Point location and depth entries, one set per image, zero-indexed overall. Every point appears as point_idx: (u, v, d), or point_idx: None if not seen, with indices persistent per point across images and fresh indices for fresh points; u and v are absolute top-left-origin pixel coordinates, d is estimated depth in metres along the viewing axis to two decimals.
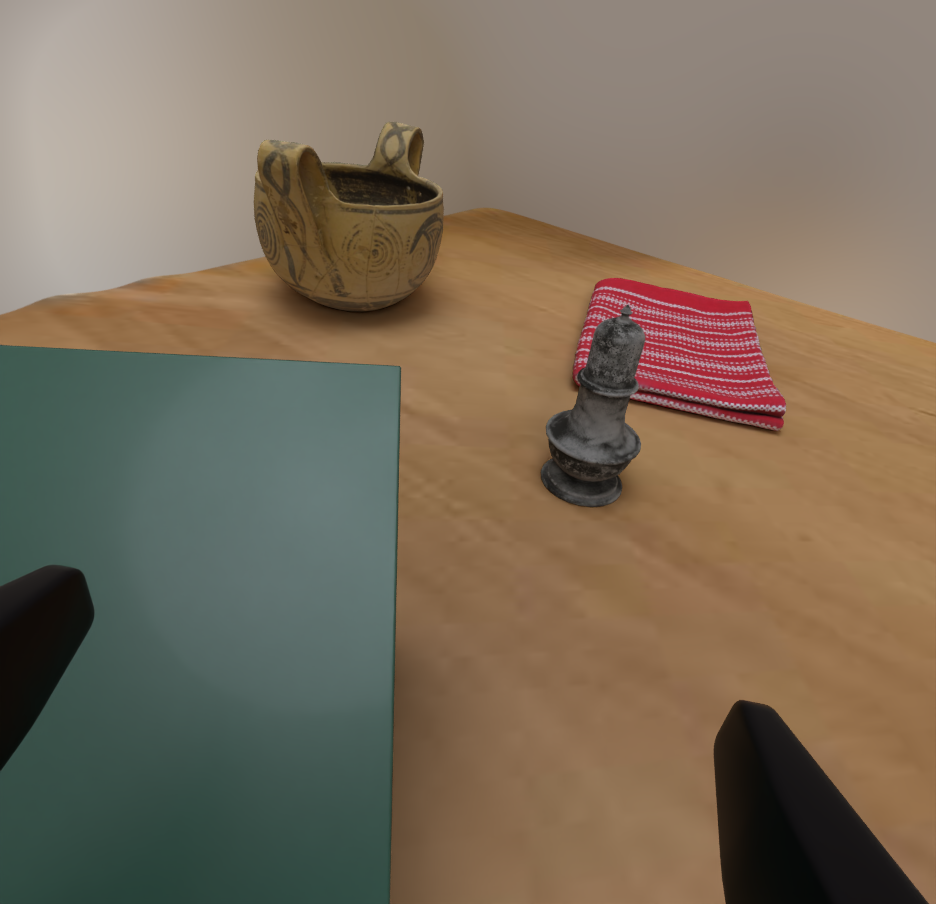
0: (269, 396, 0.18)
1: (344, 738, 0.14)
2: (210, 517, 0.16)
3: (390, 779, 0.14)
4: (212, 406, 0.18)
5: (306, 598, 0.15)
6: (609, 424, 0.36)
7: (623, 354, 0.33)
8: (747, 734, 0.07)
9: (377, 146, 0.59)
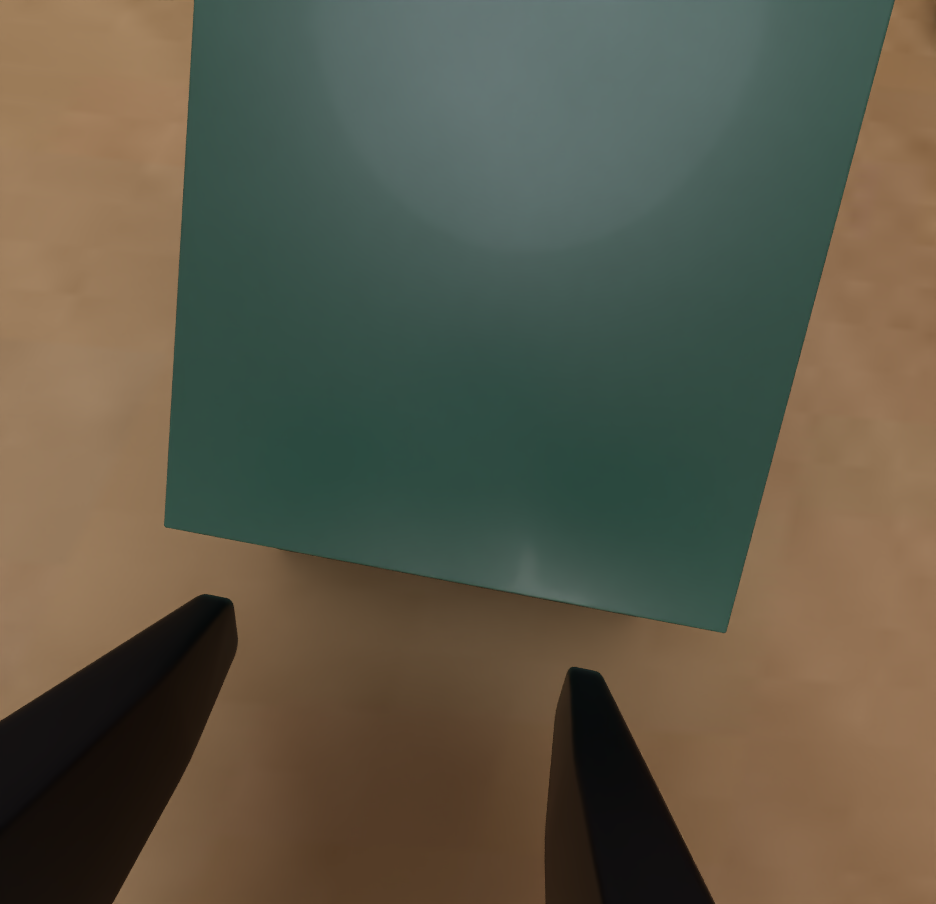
0: None
1: (729, 401, 0.12)
2: (594, 83, 0.11)
3: (772, 451, 0.12)
4: None
5: (710, 224, 0.12)
6: None
7: None
8: (569, 698, 0.07)
9: None
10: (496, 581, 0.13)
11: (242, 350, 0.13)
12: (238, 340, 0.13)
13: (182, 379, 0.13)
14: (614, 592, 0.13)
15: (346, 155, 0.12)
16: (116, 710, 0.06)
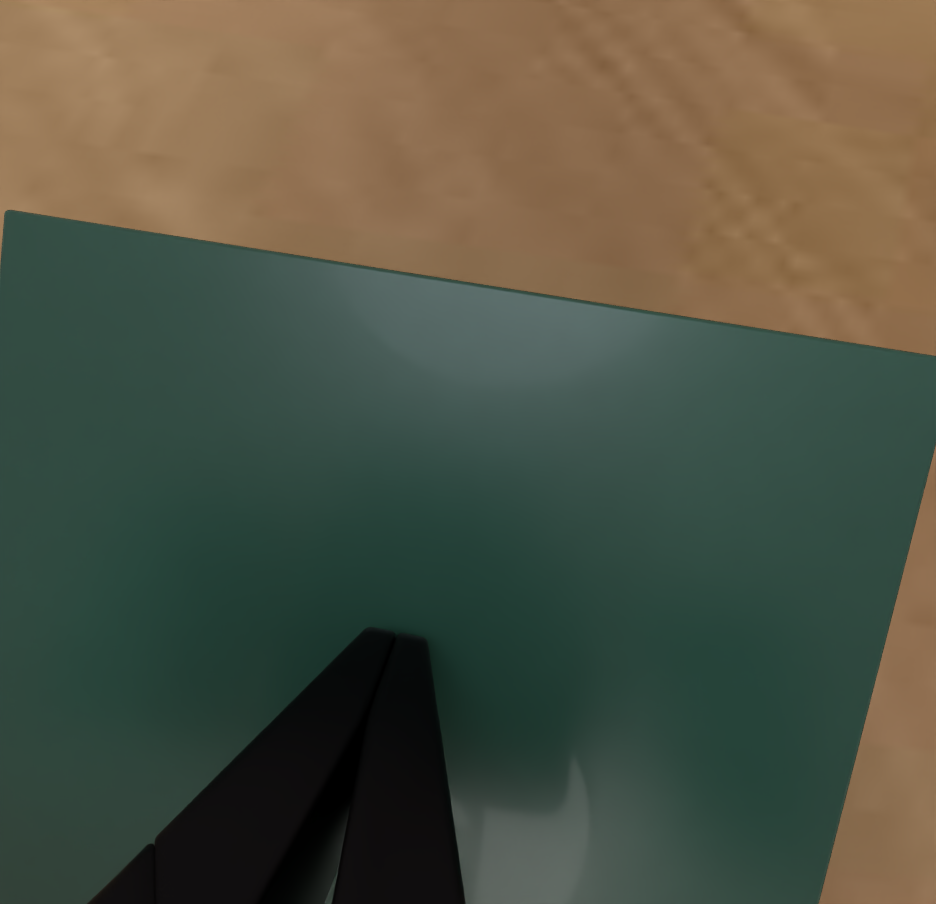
0: (628, 418, 0.08)
1: None
2: (498, 681, 0.08)
3: None
4: (506, 431, 0.08)
5: (658, 862, 0.09)
6: None
7: None
8: None
9: None
10: None
11: None
12: None
13: None
14: None
15: (173, 738, 0.09)
16: (331, 756, 0.06)
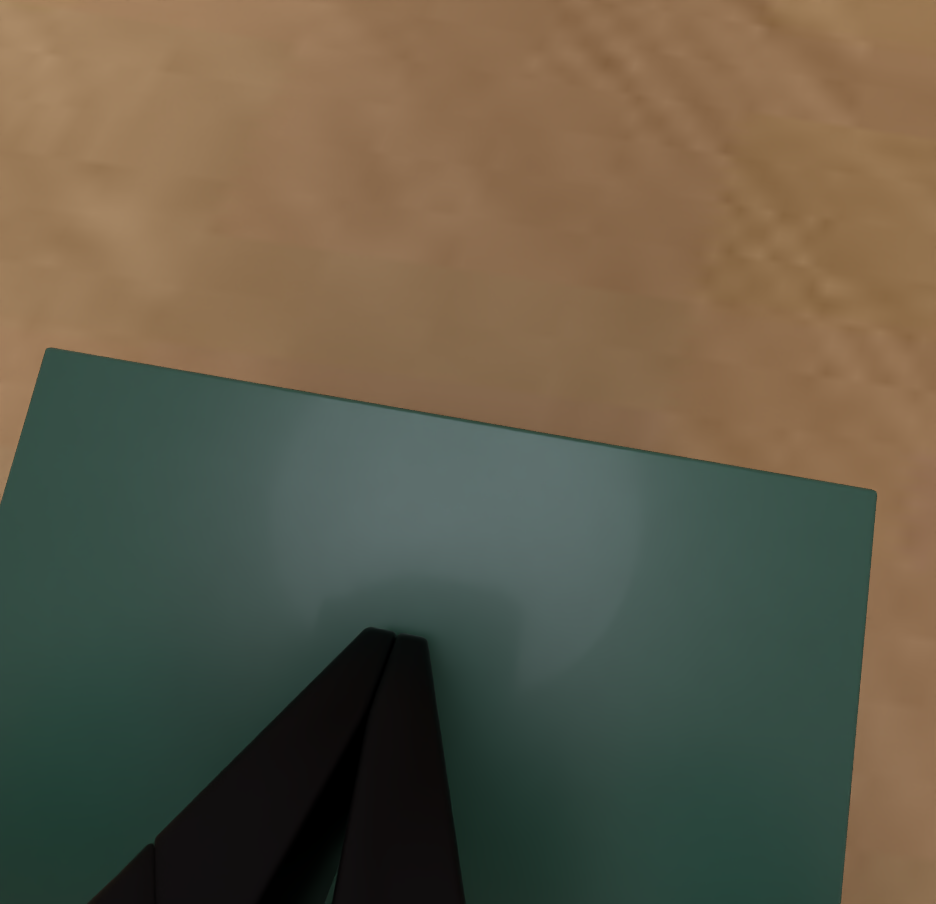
0: (597, 538, 0.09)
1: None
2: (476, 808, 0.08)
3: None
4: (486, 549, 0.09)
5: None
6: None
7: None
8: None
9: None
10: None
11: None
12: None
13: None
14: None
15: None
16: (331, 756, 0.06)
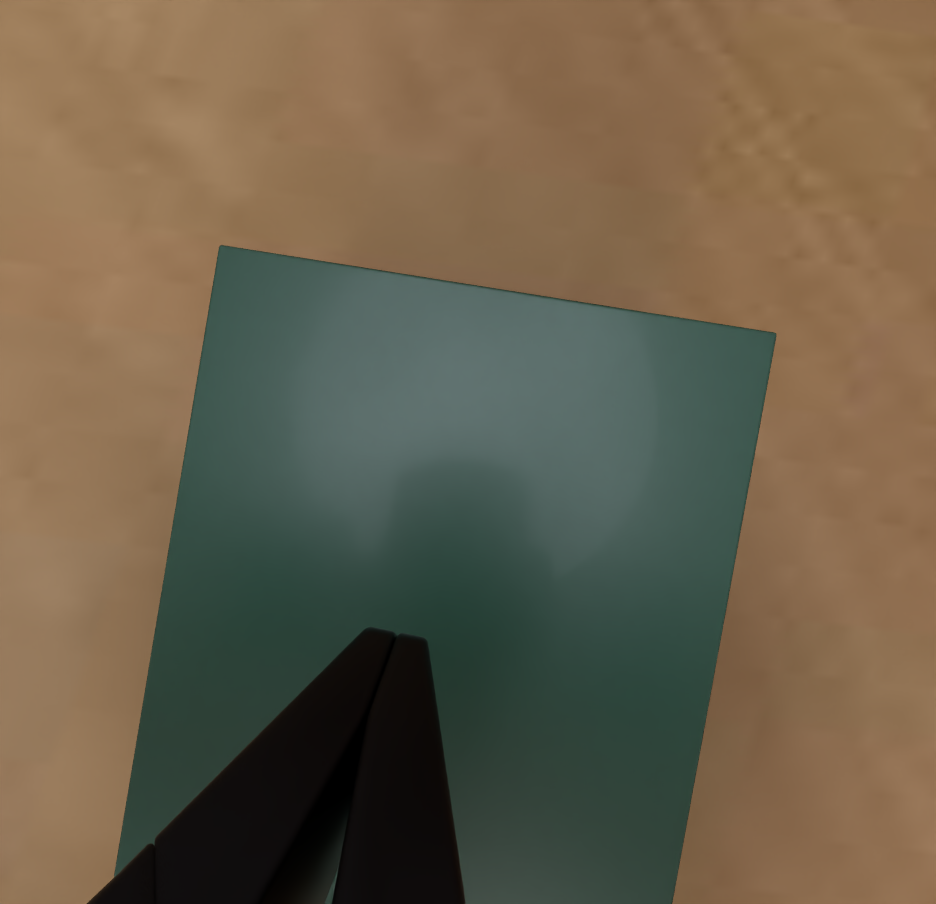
0: (590, 367, 0.14)
1: (639, 798, 0.14)
2: (513, 530, 0.14)
3: (681, 846, 0.13)
4: (519, 375, 0.14)
5: (614, 647, 0.14)
6: None
7: None
8: None
9: None
10: None
11: (201, 733, 0.14)
12: (198, 724, 0.14)
13: (143, 757, 0.14)
14: None
15: (305, 573, 0.14)
16: (332, 756, 0.06)
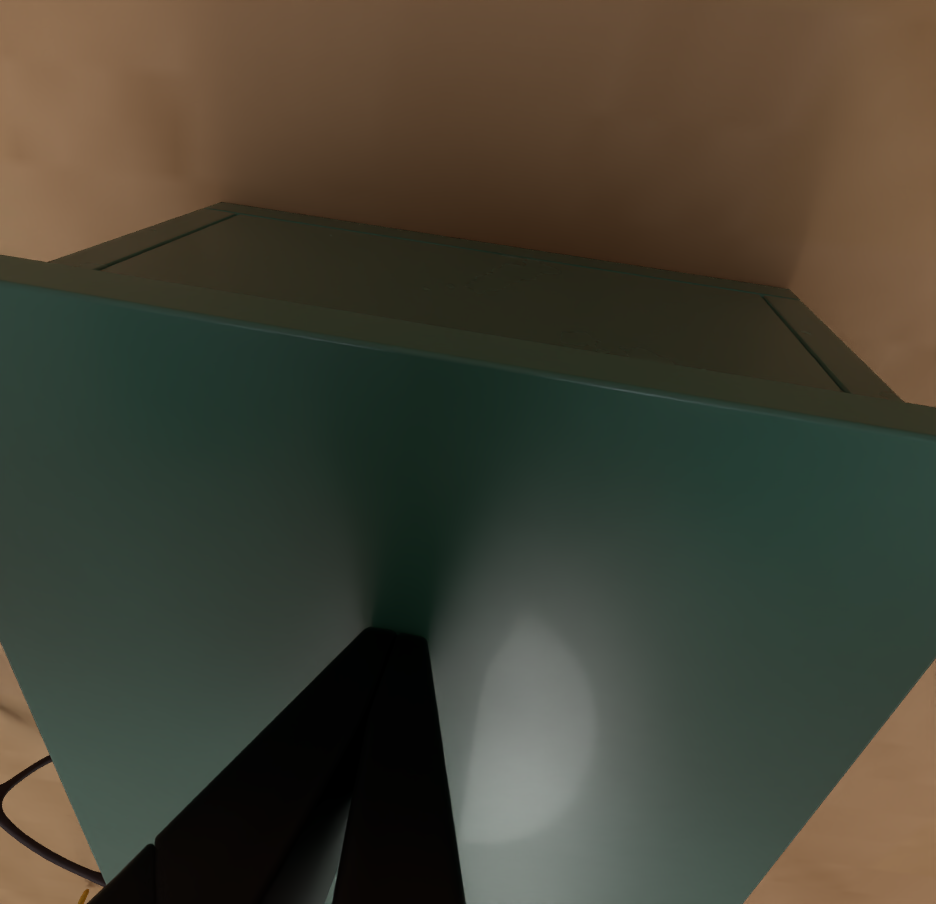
0: (635, 510, 0.07)
1: None
2: (492, 710, 0.09)
3: None
4: (490, 515, 0.07)
5: (637, 826, 0.10)
6: None
7: None
8: None
9: None
10: None
11: (144, 829, 0.12)
12: (138, 822, 0.12)
13: (93, 836, 0.13)
14: None
15: (205, 723, 0.10)
16: (332, 756, 0.06)
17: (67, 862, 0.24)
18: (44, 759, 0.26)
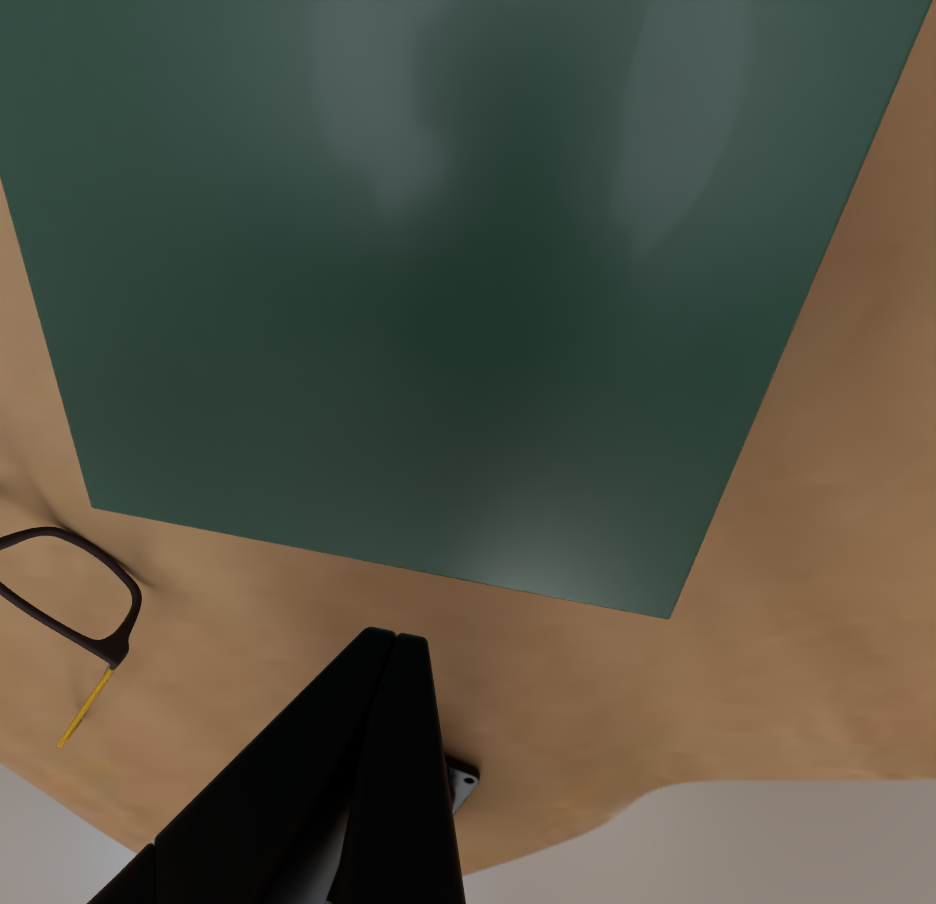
0: None
1: (689, 404, 0.10)
2: None
3: (735, 458, 0.10)
4: None
5: (678, 186, 0.08)
6: None
7: None
8: None
9: None
10: (431, 567, 0.13)
11: (119, 338, 0.11)
12: (111, 327, 0.11)
13: (63, 368, 0.12)
14: (554, 581, 0.13)
15: (181, 90, 0.09)
16: (331, 756, 0.06)
17: (53, 621, 0.23)
18: (29, 530, 0.25)
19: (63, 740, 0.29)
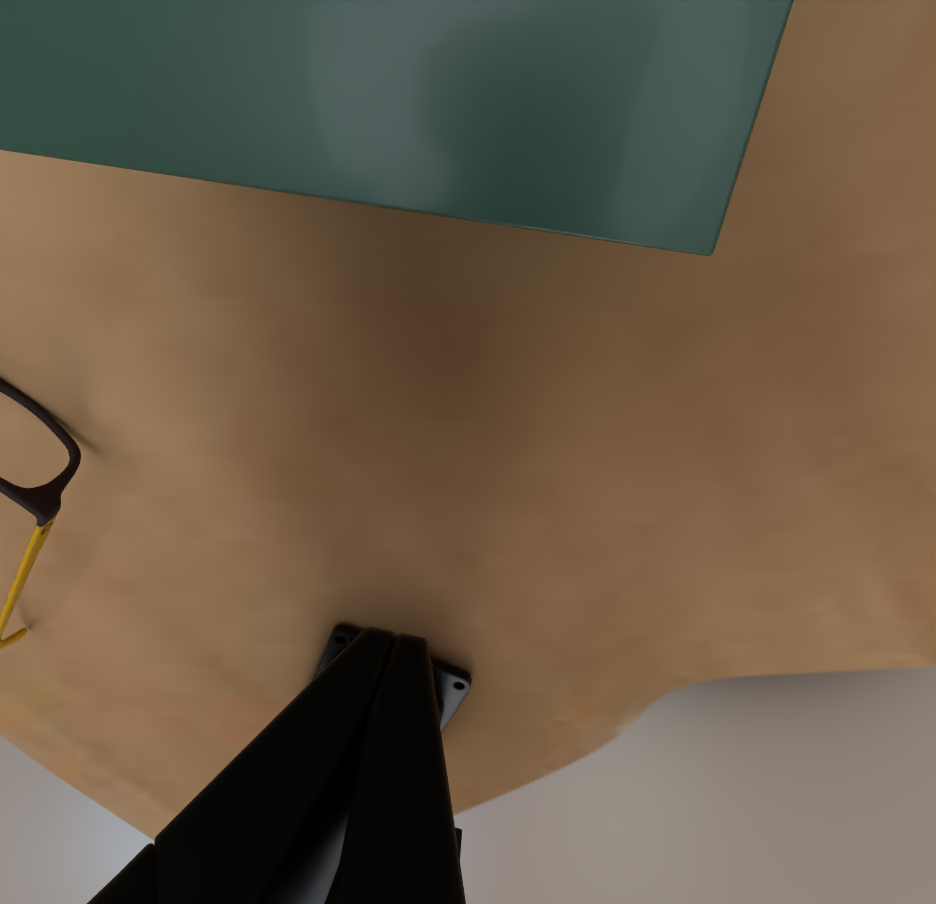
0: None
1: None
2: None
3: None
4: None
5: None
6: None
7: None
8: None
9: None
10: (389, 194, 0.10)
11: None
12: None
13: None
14: (555, 200, 0.09)
15: None
16: (331, 756, 0.06)
17: None
18: None
19: None
